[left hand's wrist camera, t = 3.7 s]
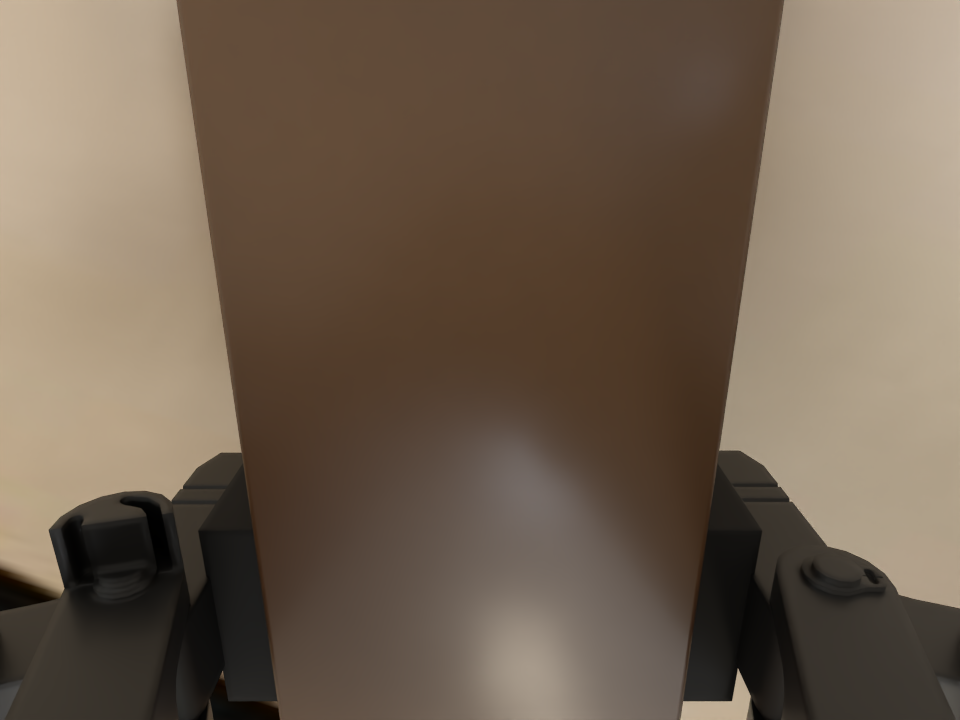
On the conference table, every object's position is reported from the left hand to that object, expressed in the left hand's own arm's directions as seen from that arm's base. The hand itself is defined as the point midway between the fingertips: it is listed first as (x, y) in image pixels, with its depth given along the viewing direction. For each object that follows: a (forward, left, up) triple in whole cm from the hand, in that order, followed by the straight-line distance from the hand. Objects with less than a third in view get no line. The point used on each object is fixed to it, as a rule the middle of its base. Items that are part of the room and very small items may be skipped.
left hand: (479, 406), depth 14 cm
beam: (+10, +31, 0) cm, 32 cm away
